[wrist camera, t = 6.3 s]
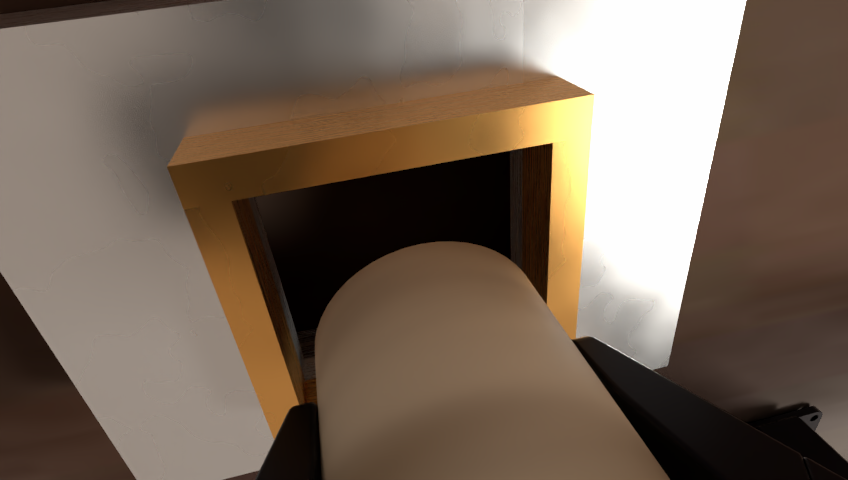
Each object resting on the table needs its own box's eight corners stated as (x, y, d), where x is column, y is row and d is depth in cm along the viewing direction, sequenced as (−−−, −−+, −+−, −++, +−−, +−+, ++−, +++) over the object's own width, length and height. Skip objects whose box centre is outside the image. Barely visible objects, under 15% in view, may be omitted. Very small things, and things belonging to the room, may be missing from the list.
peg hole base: (596, 286, 20) (699, 400, 15) (179, 381, 18) (134, 552, 13) (632, -65, 14) (828, -71, 9) (-4, 14, 12) (-232, 67, 7)
